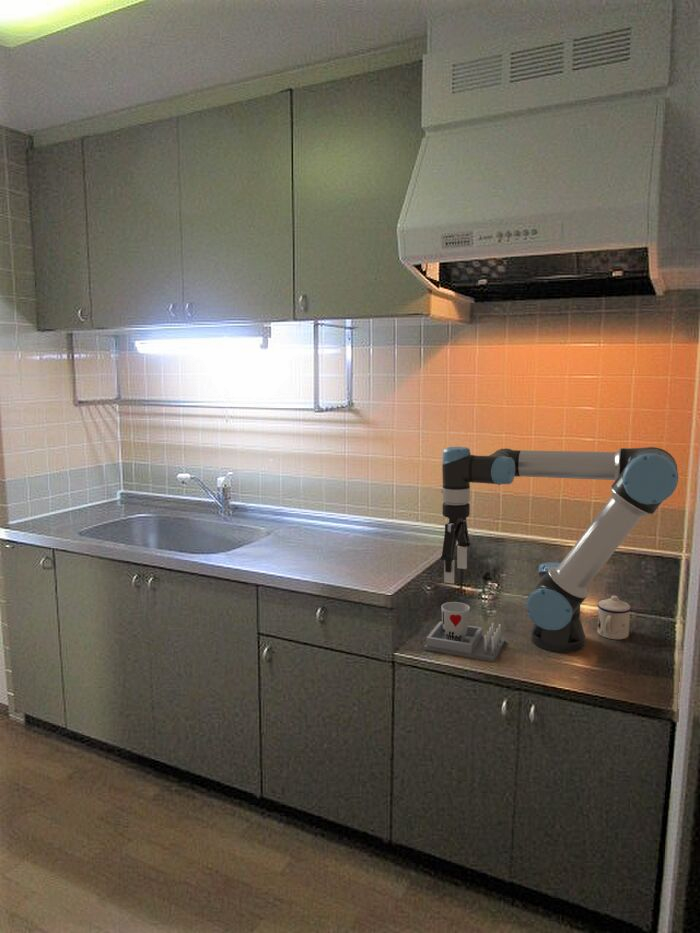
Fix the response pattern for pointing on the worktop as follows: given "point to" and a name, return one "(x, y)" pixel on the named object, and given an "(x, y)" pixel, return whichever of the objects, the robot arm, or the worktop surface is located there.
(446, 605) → the cup
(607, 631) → the teacup with lid
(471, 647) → the dish rack
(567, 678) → the worktop surface
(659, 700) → the worktop surface
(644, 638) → the worktop surface
